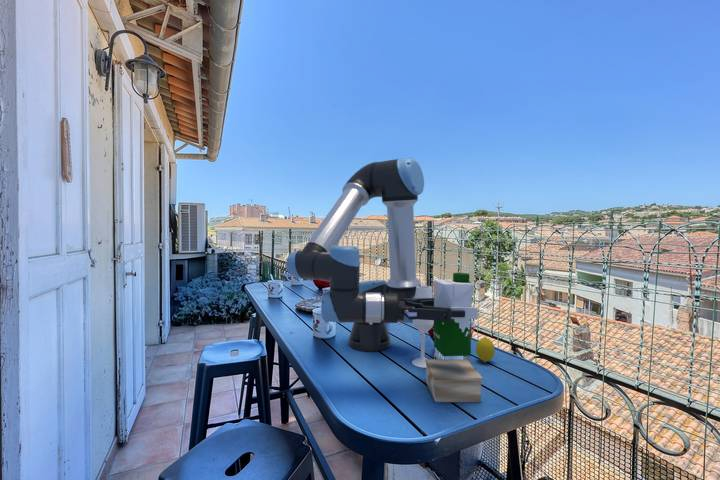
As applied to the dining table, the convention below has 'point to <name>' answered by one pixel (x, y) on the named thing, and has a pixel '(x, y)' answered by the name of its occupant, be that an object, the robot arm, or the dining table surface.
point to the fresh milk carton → (457, 332)
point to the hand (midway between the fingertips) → (470, 308)
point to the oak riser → (453, 380)
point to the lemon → (485, 349)
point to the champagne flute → (422, 324)
